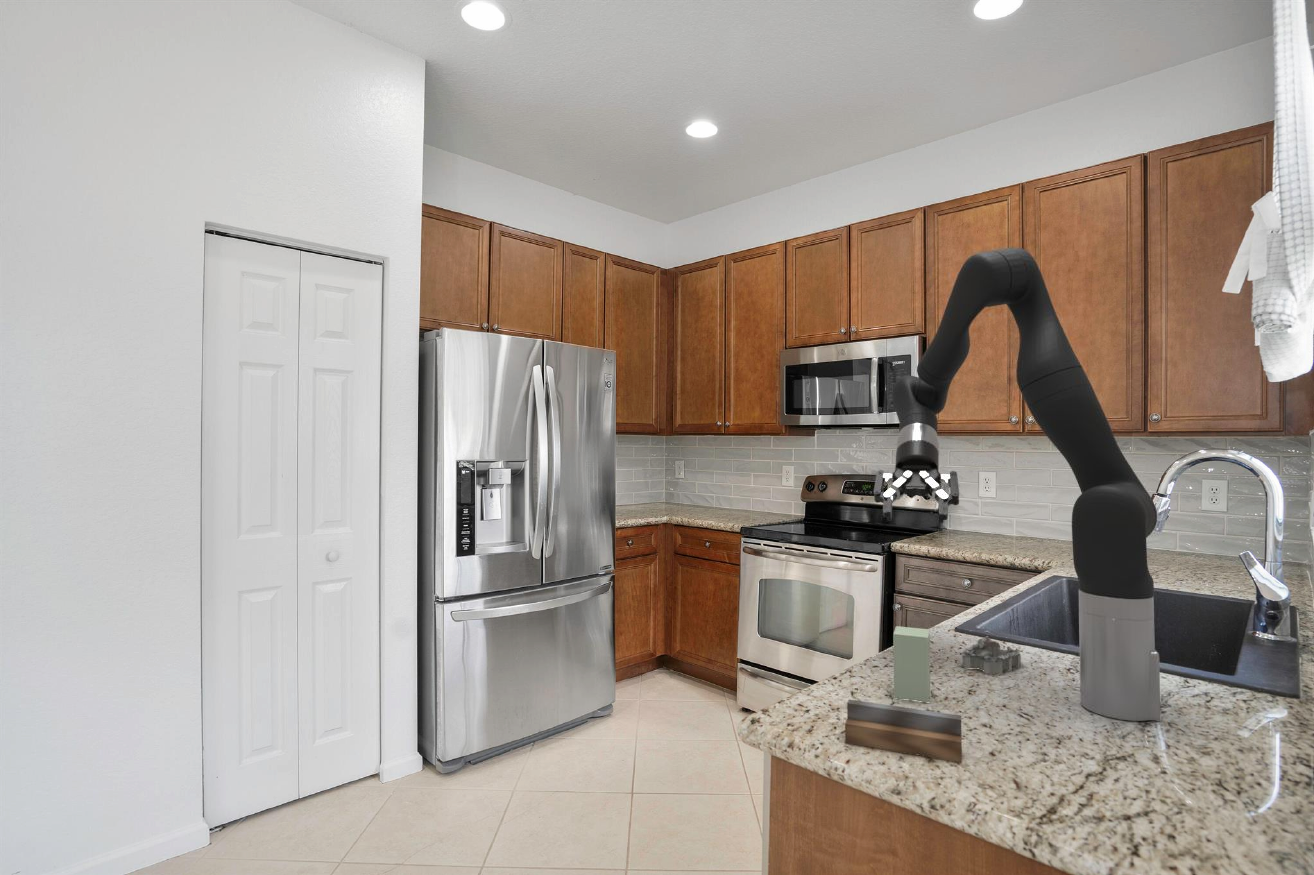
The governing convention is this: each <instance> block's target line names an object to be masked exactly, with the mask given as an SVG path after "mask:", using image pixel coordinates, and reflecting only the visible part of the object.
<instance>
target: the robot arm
mask: <svg viewBox="0 0 1314 875" xmlns="http://www.w3.org/2000/svg"><path fill="white" fill-rule="evenodd" d="M1045 282H1046V281H1045V280H1044V277H1043V274H1042V272H1041V269H1040V268H1039V265H1038V263H1037V261H1036V260H1035V257H1034V256H1032V254H1031V253H1030V252H1029V251H1027V250H1026V249H1025V248H1021V247H1007V248H997V249H993V250H991V249H990V250H985V251H981V252H977V253H974V254H973V255H972V254H971V256H970V257H968V258H967V259H966V260H965V261H964V263H963V265H962V266H961V268H960V270H959V272H958V274H957V276H956V279H955V282H954V285H953V287H952V289H951V292H950V296H949V297H948V301H947V303H946V306H945V309H944V312H943V314H942V317H941V321H940V323H939V326H938V327H937V330H936V333H935V335H934V336H933V338H932V340H931V342H930V344H929V345H928V347H927V348H926V350H925V352H924V353H923V355H922V357H921V359H920V360H919V361H918V364H917V366H916V373H917V376H914V375H909V374H907V375H904V376H901V377H899V378H898V379H897V380H896V382H895V383H894V385H893V387H892V391H891V392H892V393H891V394H892V395H891V398H892V400H891V401H892V404H893V405H892V406H893V408H894V410H895V414H896V415H897V419H898V421H899V428H898V437H897V441H896V452H895V465H894V467H895V468H894V471H893V473H885V471H884V470H881V469H879V470H877V471H876V476H875V481H874V488H873V496H874V502H875V503H877V504H878V503H883V505H882V515H883V517H884V518H886V521H891V522H892V516H893V515H892V514H893V503H895V502H896V501H898V500H900V499H902V498H903V497H904V496H905V495H906V497H914V496H918V497H926V496H928V497H929V498H930V499H931V500H932V501H934V502H937V504H938V523H939V524H943V523H944V521H947V520H948V519H949V511H948V510H949V509H948V508H949V506H950V505H954V506H957V505H959V504H960V489H959V481H958V472H957V471H955V470H952V471H950V472H949V474H941V473H940V471H939V469H940V468H939V460H940V456H939V455H940V450H939V448H940V445H939V444H940V443H939V439H938V438H939V437H938V418H937V415H939V414H940V413H941V412H942V411H943V410H944V409H945V407H946V403H947V400H948V393H949V389H950V386H951V384H952V381H953V379H954V377H955V376H956V375H957V373H958V372H959V370H960V368H961V367H962V366H963V364H964V362H965V361H966V359H967V357H968V356H969V352H970V347H971V340H970V327H971V324H972V323H973V322H974V320H976V319H975V318H977V317H978V315H979V314H980V313H981V312H982V311H983V310H984V309H985V308H991V307H997V306H1002V305H1003V306H1004V305H1006V306H1007V307H1008V309H1009V310H1010V312H1011V315H1012V316H1013V319H1014V321H1015V323H1016V326H1017V329H1018V333H1019V348H1018V349H1019V350H1018V355H1017V362H1016V363H1017V364H1016V371H1015V372H1016V373H1015V374H1016V383H1017V386H1018V388H1019V391H1020V393H1021V396H1022V397H1023V400H1024V402H1025V404H1026V407H1027V408H1028V410H1029V412H1030V414H1031V416H1032V418H1033V419H1034V421H1035V422H1036V424H1037V425H1038V427H1039V429H1041V431H1042V432H1043V433H1044V435H1046V438H1048V439H1049V441H1050V442H1051V443H1052V444H1053V446H1055V448H1056V449H1057V450H1058V451H1059V453H1060V454H1061V455H1062V456H1063V458H1064V459H1065V461H1066V462H1067V463H1068V465H1069V467H1070V469H1071V471H1072V473H1073V475H1074V477H1075V479H1076V480H1075V481H1076V482H1077V484H1078V487H1079V490H1080V492H1081V494H1080V495H1079V496H1078V497H1077V498H1076V500H1075V501H1074V505H1073V507H1072V513H1071V540H1072V542H1071V544H1072V556H1073V558H1072V560H1073V567H1074V572H1075V574H1076V576H1077V580H1078V581H1077V582H1078V624H1079V625H1078V626H1079V628H1078V634H1079V635H1078V636H1079V641H1078V642H1079V644H1078V645H1079V693H1080V695H1079V699H1080V705H1081V706H1082V707H1084V708H1085V709H1087V710H1088V711H1090V712H1092V713H1094V714H1099V715H1101V716H1105V717H1108V718H1113V719H1118V720H1124V721H1135V722H1143V721H1144V722H1145V721H1157V722H1159V721H1161V689H1160V688H1161V686H1160V685H1161V684H1160V682H1161V681H1160V680H1161V679H1160V677H1161V676H1160V675H1161V674H1160V654H1159V652H1158V651H1157V650H1156V648H1155V646H1156V643H1155V641H1156V640H1155V639H1156V638H1155V604H1154V602H1155V601H1154V600H1155V599H1154V596H1155V590H1154V588H1155V585H1154V584H1155V582H1154V578H1153V577H1152V575H1151V574H1150V571H1149V566H1148V555H1147V554H1148V550H1147V547H1148V546H1147V538H1148V537H1149V536H1150V535H1151V534H1152V533H1153V532H1154V530H1155V528H1156V526H1157V523H1158V509H1157V507H1156V504H1155V502H1154V500H1153V499H1152V497H1151V495H1150V493H1149V492H1148V491H1147V490H1146V487H1145V486H1144V485H1143V484H1142V482H1141V481H1140V478H1139V477H1138V475H1137V474H1136V473H1135V471H1134V469H1133V468H1132V466H1131V465H1130V464H1129V461H1128V460H1127V459H1126V457H1125V456H1124V454H1123V452H1122V450H1121V448H1120V446H1119V445H1118V442H1117V440H1116V438H1115V435H1114V432H1113V430H1112V427H1111V425H1110V424H1109V421H1108V418H1107V416H1106V414H1105V412H1104V409H1103V408H1102V404H1100V402H1099V399H1098V397H1097V395H1096V392H1095V390H1094V387H1093V385H1092V384H1091V381H1090V380H1089V378H1088V376H1087V373H1086V371H1085V370H1084V368H1083V366H1082V363H1081V362H1080V361H1079V359H1078V357H1077V355H1076V353H1075V351H1074V350H1073V347H1072V346H1071V343H1070V341H1069V339H1068V337H1067V335H1066V332H1065V330H1064V328H1063V326H1062V323H1061V322H1060V319H1059V317H1058V315H1057V312H1056V311H1055V307H1054V306H1053V302H1052V299H1051V296H1050V294H1049V292H1048V289H1047V285H1046V283H1045ZM889 482H892V483H891V486H890V487H889V488H888V489H887V490H886V491H885V492H884V487H886V486H887V485H888V484H889ZM941 483H944V484H945V486H947V488H950V493H949V494H948V493H946V492H945V491H944V490H943V489H942V488H941V486H940V485H941Z"/></svg>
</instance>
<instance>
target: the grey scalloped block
mask: <svg viewBox="0 0 1314 875" xmlns="http://www.w3.org/2000/svg"><path fill="white" fill-rule="evenodd" d="M989 636H990V635H987V636H983V637H982V638H979V639H978V640H977V642H976V643H975V644H974V643H973V644H972V645H971V646H970V647H968V648H965V649H964V650H963V651H962V652H959V656H961V657H962V666H963V665H965V666H964V669H966V668H979V669H982V670H984V671H983V673H984V672H985V673H984V674H986V673H987V674H986V675H997V674H998V675H999V676H1002V675H1003V671H1006V670H1009V671H1008V672H1010V670H1011V671H1013V667H1015V666H1020V667H1021V666H1022V661H1021V660H1022V659H1021V654H1020V653H1023V652H1024V650H1020V649H1018V648H1016V649H1012V648H1011V646H1007V648H1006V649H1003V648H1001V645H1000V643H999V642H998V641H996V640H992V639H990V638H989ZM982 670H981V671H982ZM998 675H997V676H998Z"/></svg>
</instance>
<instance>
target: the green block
mask: <svg viewBox="0 0 1314 875" xmlns="http://www.w3.org/2000/svg"><path fill="white" fill-rule="evenodd" d="M892 638H893V641H892V642H893V643H892V644H893V699H894V698H897V699H896V700H899V699H909V700H917V701H922V702H929V703H930V699H929V697H931V659H930V658H931V655H930V653H931V648H930V647H931V646H930V641H931V640H930V629H929V628H928V629H927V628H920V627H919V628H918V627H911V626H910V627H909V626H907V627H906V626H899V625H898V626H897V625H896V626H895V628H894V631H893V636H892Z"/></svg>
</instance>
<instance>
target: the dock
mask: <svg viewBox="0 0 1314 875" xmlns="http://www.w3.org/2000/svg"><path fill="white" fill-rule="evenodd" d="M846 704H847V705H846V706H847V708H846V709H847V712H846V713H847V714H846V715H847V716H846V717H847V718H846V720H845V724H844V734H845V736H844V741H845V742H844V743H845V744H851V745H857V746H861V747H868V748H874V749H880V750H885V751H893V752H896V753H902V752H906V753H905V754H908V753H911V754H910V755H914V754H919V755H918V756H920V755H924V756H923V757H925V756H930V757H929V758H931V757H933V758H934V759H937V758H938V760H944V761H948V762H949V761H951V762H955V761H956V763H963V751H962V748H963V745H962V740H963V738H962V734H963V733H962V715H959V714H953V713H945V712H939V711H933V710H924V709H918V708H912V707H906V706H905V707H903V706H898V705H891V704H886V703H885V704H883V703H877V702H870V701H863V700H856V699H850V698H849V699H848V701H847V703H846Z"/></svg>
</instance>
